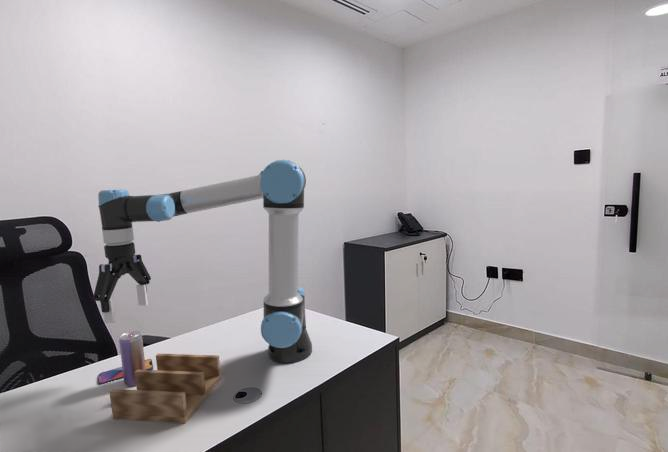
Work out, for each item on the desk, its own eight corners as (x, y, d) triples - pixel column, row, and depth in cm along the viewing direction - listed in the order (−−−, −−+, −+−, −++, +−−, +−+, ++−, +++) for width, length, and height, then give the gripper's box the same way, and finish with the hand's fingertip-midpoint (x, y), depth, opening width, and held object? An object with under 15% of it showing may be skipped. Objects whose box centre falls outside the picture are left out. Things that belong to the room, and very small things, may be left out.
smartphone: (99, 376, 111) (98, 373, 111) (151, 361, 119) (151, 358, 119) (98, 387, 105) (97, 384, 105) (153, 370, 112) (153, 367, 112)
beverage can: (123, 389, 102) (117, 341, 100) (125, 379, 107) (119, 333, 105) (146, 383, 105) (141, 336, 103) (147, 374, 110) (141, 328, 108)
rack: (221, 378, 106) (219, 355, 105) (185, 423, 86) (182, 395, 85) (160, 376, 108) (158, 353, 107) (112, 418, 89) (109, 391, 88)
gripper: (137, 236, 114) (144, 298, 116) (69, 252, 89) (80, 330, 92) (158, 235, 112) (165, 299, 115) (95, 251, 88) (105, 331, 91)
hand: (127, 313), depth 104 cm, fingers open, 13 cm apart
